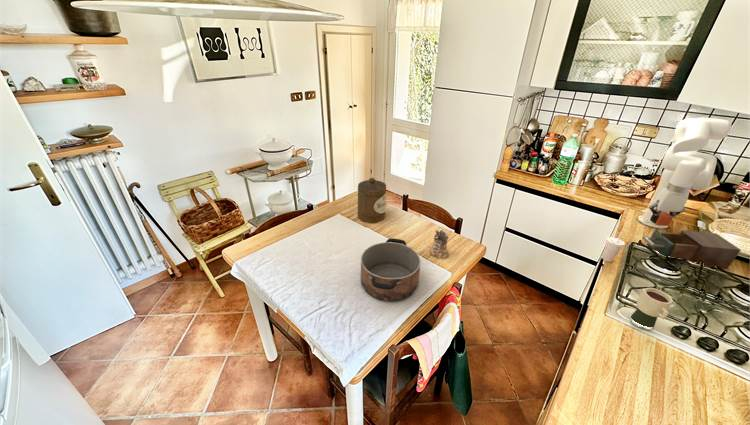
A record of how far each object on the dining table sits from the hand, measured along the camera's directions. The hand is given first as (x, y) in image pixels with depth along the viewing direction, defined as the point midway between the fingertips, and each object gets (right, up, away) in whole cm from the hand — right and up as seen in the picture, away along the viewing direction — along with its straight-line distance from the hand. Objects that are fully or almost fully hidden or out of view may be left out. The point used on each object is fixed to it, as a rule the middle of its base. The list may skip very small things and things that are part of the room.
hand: (659, 222), depth 146 cm
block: (0, 0, 0) cm, 0 cm away
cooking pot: (-131, -22, -26) cm, 135 cm away
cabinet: (+8, -16, -10) cm, 20 cm away
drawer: (-6, -14, -8) cm, 17 cm away
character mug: (-47, -33, -43) cm, 72 cm away
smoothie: (-34, -16, -12) cm, 40 cm away
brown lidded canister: (-138, +2, +19) cm, 139 cm away
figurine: (-108, -14, -10) cm, 109 cm away
